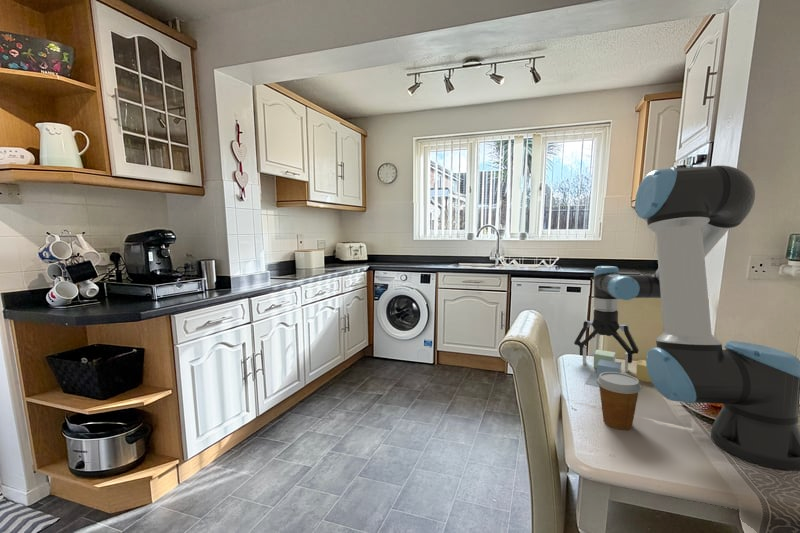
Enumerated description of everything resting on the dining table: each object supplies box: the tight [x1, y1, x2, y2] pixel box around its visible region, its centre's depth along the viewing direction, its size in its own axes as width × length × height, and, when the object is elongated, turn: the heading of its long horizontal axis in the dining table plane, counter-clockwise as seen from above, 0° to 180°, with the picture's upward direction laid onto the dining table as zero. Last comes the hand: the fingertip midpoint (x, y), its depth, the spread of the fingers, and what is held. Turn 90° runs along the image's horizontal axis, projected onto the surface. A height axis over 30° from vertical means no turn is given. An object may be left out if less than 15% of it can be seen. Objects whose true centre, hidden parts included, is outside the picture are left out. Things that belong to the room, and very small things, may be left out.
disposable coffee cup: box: [597, 372, 642, 431], centre depth 90 cm, size 10×10×12 cm
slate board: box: [584, 371, 599, 388], centre depth 114 cm, size 12×12×1 cm
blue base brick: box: [596, 360, 622, 383], centre depth 113 cm, size 6×6×6 cm
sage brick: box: [593, 349, 616, 369], centre depth 126 cm, size 6×6×6 cm
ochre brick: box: [635, 358, 652, 383], centre depth 115 cm, size 6×6×6 cm
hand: (604, 367), depth 127 cm, fingers open, 12 cm apart
